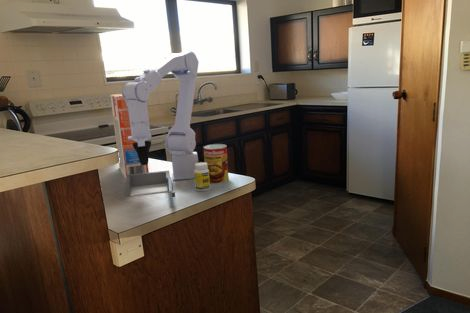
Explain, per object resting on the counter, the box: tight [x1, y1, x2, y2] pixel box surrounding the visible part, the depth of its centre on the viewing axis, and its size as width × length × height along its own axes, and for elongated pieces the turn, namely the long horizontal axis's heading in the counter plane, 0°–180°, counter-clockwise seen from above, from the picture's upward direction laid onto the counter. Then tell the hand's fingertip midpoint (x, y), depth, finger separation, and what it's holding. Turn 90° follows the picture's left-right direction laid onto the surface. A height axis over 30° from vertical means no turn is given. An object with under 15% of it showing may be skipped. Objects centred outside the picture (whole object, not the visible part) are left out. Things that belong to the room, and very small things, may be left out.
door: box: [168, 176, 176, 207], centre depth 113 cm, size 14×2×4 cm, turn 11°
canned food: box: [203, 143, 229, 185], centre depth 129 cm, size 8×8×12 cm
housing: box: [124, 170, 171, 197], centre depth 123 cm, size 14×10×4 cm
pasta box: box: [109, 93, 150, 180], centre depth 144 cm, size 23×8×30 cm, turn 23°
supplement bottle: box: [194, 161, 211, 192], centre depth 120 cm, size 5×5×8 cm
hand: (144, 164), depth 119 cm, fingers closed
